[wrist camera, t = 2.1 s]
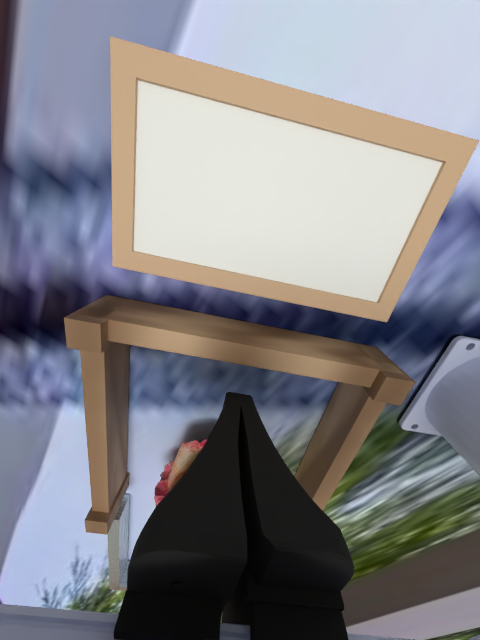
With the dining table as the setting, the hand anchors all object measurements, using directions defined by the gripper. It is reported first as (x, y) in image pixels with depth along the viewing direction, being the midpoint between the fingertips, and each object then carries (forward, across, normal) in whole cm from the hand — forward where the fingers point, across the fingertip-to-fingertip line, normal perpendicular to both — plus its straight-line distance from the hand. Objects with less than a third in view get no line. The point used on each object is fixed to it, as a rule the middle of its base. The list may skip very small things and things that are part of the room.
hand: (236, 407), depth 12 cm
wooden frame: (+4, 0, +5) cm, 6 cm away
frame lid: (+4, 0, -10) cm, 11 cm away
